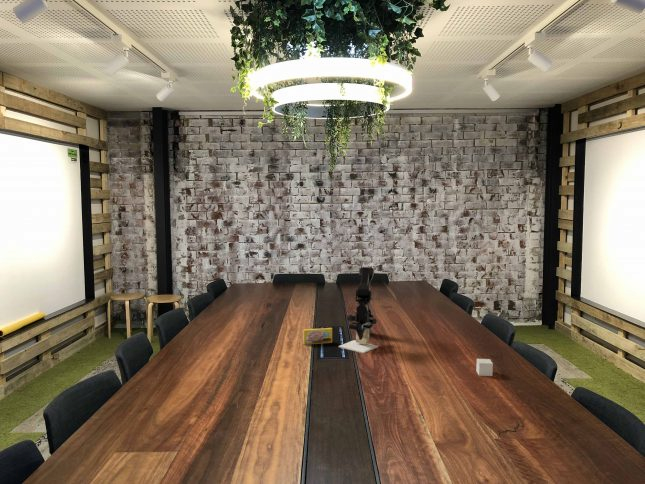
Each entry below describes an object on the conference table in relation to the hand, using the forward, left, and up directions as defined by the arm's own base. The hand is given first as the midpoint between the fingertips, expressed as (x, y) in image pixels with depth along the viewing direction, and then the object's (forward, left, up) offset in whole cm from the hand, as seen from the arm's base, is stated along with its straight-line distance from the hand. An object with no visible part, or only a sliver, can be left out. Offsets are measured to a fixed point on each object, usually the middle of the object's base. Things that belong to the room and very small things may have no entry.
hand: (362, 338), depth 271 cm
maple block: (0, 0, -2) cm, 2 cm away
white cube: (-2, +67, -4) cm, 67 cm away
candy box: (+13, -21, -4) cm, 25 cm away
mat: (+4, 0, -4) cm, 5 cm away
